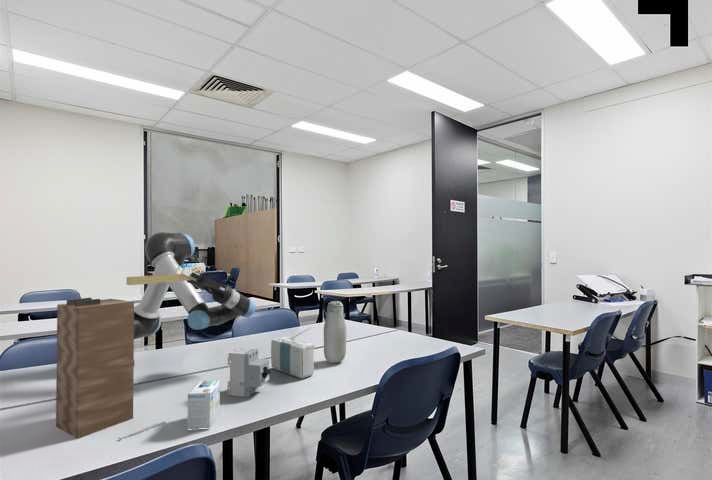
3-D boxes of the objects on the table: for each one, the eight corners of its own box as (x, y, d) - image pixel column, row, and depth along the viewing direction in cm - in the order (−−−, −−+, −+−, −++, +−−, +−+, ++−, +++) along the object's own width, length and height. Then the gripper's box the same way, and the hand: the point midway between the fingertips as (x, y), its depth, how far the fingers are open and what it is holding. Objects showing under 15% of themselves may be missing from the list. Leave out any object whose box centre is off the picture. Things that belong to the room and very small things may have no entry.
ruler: (120, 442, 105) (120, 438, 105) (118, 440, 106) (118, 437, 106) (165, 424, 115) (165, 421, 115) (163, 423, 116) (163, 420, 116)
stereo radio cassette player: (270, 369, 166) (270, 323, 167) (285, 365, 172) (285, 320, 173) (300, 381, 152) (300, 330, 152) (316, 375, 158) (316, 327, 158)
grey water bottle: (333, 367, 169) (333, 303, 170) (319, 362, 177) (319, 301, 177) (350, 362, 176) (350, 301, 176) (336, 357, 183) (336, 299, 184)
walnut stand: (55, 426, 114) (57, 299, 114) (110, 408, 126) (111, 294, 127) (77, 438, 106) (79, 302, 107) (133, 418, 119) (134, 296, 120)
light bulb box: (198, 414, 121) (198, 380, 122) (220, 414, 122) (220, 379, 122) (186, 431, 111) (186, 393, 111) (210, 430, 111) (210, 392, 111)
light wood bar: (126, 284, 126) (126, 277, 126) (196, 279, 148) (196, 272, 148) (131, 285, 124) (131, 277, 124) (201, 279, 146) (201, 272, 146)
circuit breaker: (264, 398, 135) (264, 355, 135) (227, 395, 138) (227, 352, 138) (273, 390, 142) (273, 349, 142) (238, 387, 145) (238, 347, 145)
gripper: (216, 286, 164) (172, 260, 147) (242, 288, 155) (198, 261, 138) (209, 302, 160) (162, 278, 143) (235, 305, 152) (189, 280, 135)
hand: (180, 269), depth 141 cm, fingers closed on light wood bar, 3 cm apart
